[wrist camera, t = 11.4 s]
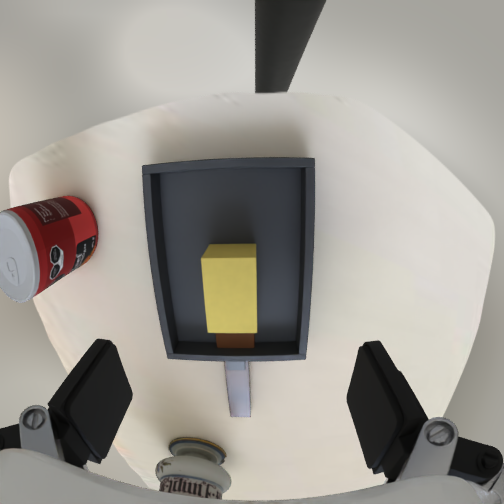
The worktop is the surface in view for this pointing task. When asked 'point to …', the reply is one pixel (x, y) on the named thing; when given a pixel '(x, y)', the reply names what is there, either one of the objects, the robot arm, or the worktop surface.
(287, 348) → the pan
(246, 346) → the plate
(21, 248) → the canned food
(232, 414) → the pan handle
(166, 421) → the worktop surface
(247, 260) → the sponge
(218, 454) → the apothecary jar
